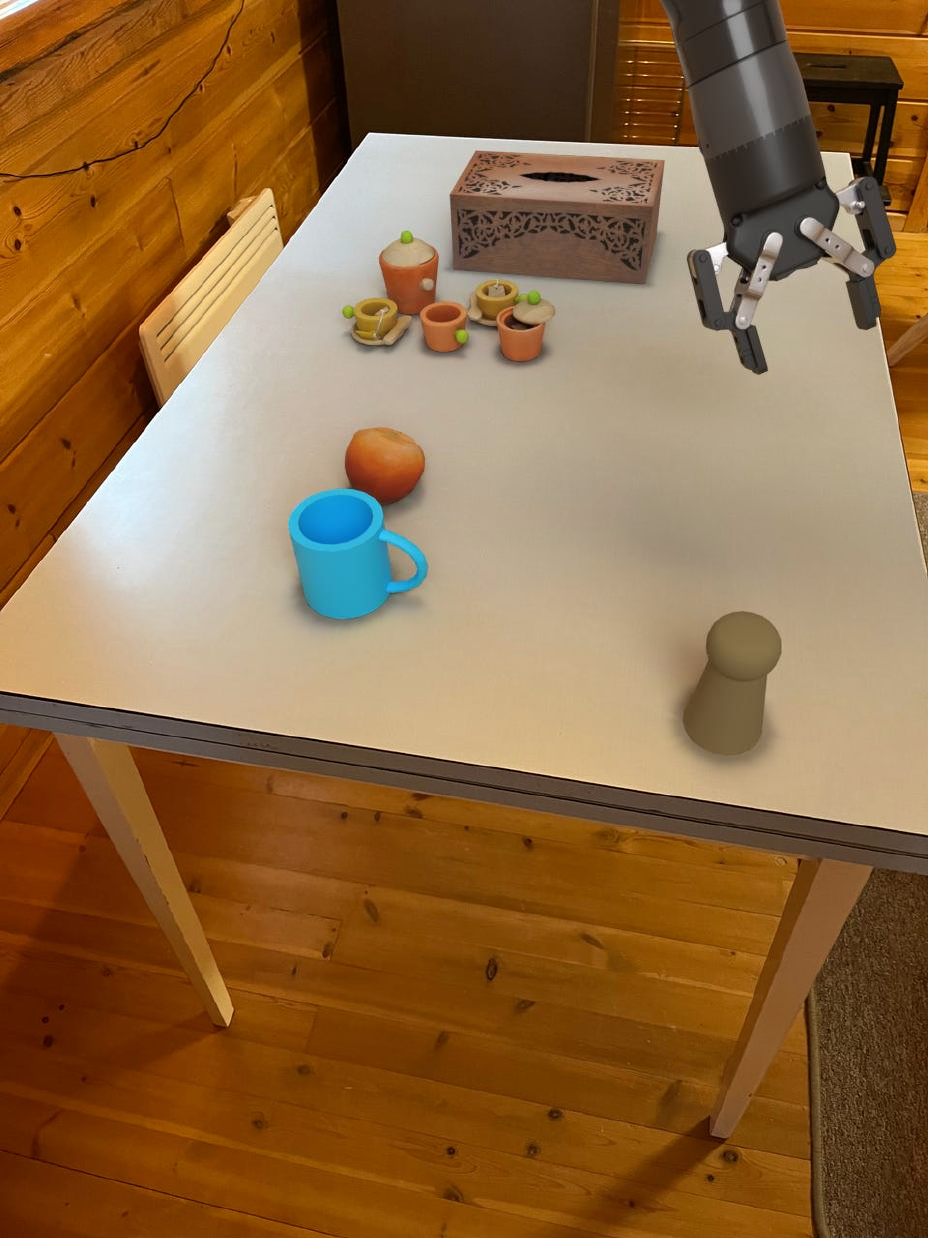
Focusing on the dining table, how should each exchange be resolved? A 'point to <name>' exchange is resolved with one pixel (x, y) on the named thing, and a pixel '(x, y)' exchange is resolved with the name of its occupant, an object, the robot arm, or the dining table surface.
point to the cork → (733, 683)
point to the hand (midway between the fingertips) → (813, 349)
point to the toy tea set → (446, 306)
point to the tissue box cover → (556, 215)
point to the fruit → (384, 464)
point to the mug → (347, 553)
